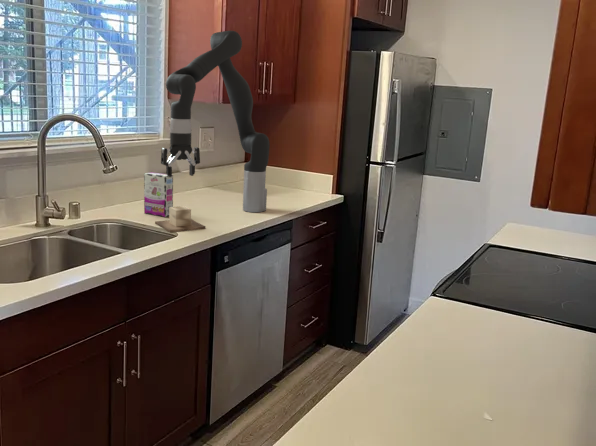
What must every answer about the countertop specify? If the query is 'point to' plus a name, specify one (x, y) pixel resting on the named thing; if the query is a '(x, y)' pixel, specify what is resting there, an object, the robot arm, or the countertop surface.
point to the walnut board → (172, 228)
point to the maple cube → (180, 216)
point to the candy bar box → (158, 194)
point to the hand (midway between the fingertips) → (180, 176)
